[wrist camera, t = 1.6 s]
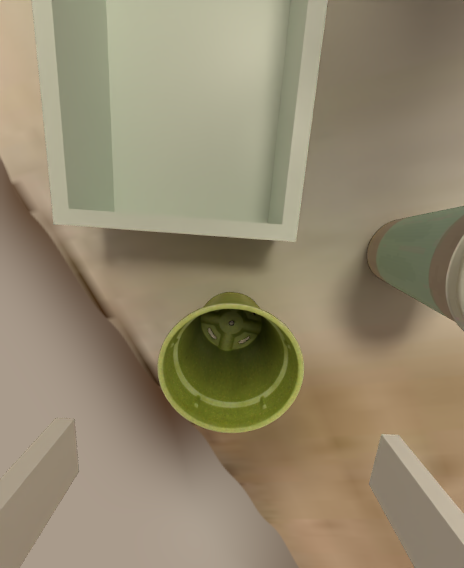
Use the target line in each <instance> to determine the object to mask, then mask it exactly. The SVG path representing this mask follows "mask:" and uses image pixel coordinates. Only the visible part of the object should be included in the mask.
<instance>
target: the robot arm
mask: <svg viewBox="0 0 464 568" xmlns="http://www.w3.org/2000/svg"><path fill="white" fill-rule="evenodd" d="M78 472H79V466H78V454H77V443H76V431H75V419H68V418H55V420H54V421H53V422H52V423H51V424H50V425H49V426H48V427H47V428H46V429H45V430H44V431H43V433H42V434H41V435H40V436H39V437H38V438H37V439H36V440H35V441H34V443H33V444H32V445H31V446H30V447H29V448H28V449H27V450H26V451H25V452H24V453H23V455H22V456H21V457H20V458H19V459H18V460H17V461H16V462H15V463H14V464H13V465H12V466H11V468H10V469H9V470H8V471H7V472H6V473H5V474H4V475H3V476H2V478H1V479H0V568H20V566H21V565H22V563H23V562H24V560H25V558H26V557H27V555H28V553H29V552H30V550H31V548H32V547H33V545H34V544H35V542H36V540H37V539H38V537H39V536H40V534H41V532H42V531H43V529H44V527H45V526H46V524H47V523H48V521H49V519H50V518H51V516H52V514H53V513H54V511H55V510H56V508H57V506H58V504H59V503H60V502H61V500H62V498H63V497H64V495H65V493H66V492H67V490H68V489H69V487H70V485H71V484H72V482H73V480H74V479H75V477H76V476H77V474H78ZM369 485H370V487H371V489H372V491H373V493H374V494H375V496H376V498H377V500H378V502H379V504H380V505H381V507H382V509H383V511H384V513H385V514H386V516H387V518H388V520H389V522H390V524H391V525H392V527H393V529H394V531H395V533H396V535H397V536H398V538H399V540H400V542H401V544H402V545H403V547H404V549H405V551H406V553H407V555H408V556H409V558H410V560H411V562H412V564H413V566H414V567H415V568H464V514H463V513H462V511H461V510H460V509H459V508H458V507H457V505H456V504H455V503H454V502H453V500H452V499H451V498H450V497H449V496H448V494H447V493H446V492H445V491H444V490H443V488H442V487H441V486H440V485H439V483H438V482H437V481H436V480H435V479H434V477H433V476H432V475H431V474H430V473H429V471H428V470H427V469H426V468H425V466H424V465H423V464H422V463H421V462H420V460H419V459H418V458H417V457H416V456H415V454H414V453H413V452H412V451H411V449H410V448H409V447H408V446H407V445H406V443H405V442H404V441H403V440H402V439H401V437H400V436H399V435H389V434H381V438H380V442H379V446H378V450H377V454H376V458H375V462H374V466H373V470H372V474H371V478H370V482H369Z"/></svg>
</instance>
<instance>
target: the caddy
mask: <svg viewBox="0 0 464 568" xmlns="http://www.w3.org/2000/svg"><path fill="white" fill-rule="evenodd" d="M327 4H328V0H32V9H33V20H34V30H35V40H36V50H37V61H38V71H39V81H40V91H41V101H42V112H43V122H44V132H45V142H46V153H47V163H48V173H49V183H50V193H51V204H52V214H53V224H56V225H70V226H83V227H97V228H111V229H125V230H138V231H152V232H166V233H179V234H193V235H207V236H221V237H234V238H248V239H262V240H276V241H289V242H296V238H297V231H298V223H299V215H300V208H301V200H302V193H303V185H304V178H305V170H306V162H307V155H308V147H309V140H310V132H311V125H312V117H313V110H314V102H315V94H316V87H317V79H318V72H319V64H320V57H321V49H322V41H323V34H324V26H325V19H326V11H327Z"/></svg>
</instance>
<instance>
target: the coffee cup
mask: <svg viewBox="0 0 464 568" xmlns="http://www.w3.org/2000/svg"><path fill="white" fill-rule="evenodd" d="M367 260H368V264H369V267H370V269H371V271H372V272H373V273H374V274H375V275H376V276H377V277H378V278H380V279H382V280H383V281H385V282H387V283H388V284H390V285H392V286H394V287H395V288H397V289H399V290H401V291H402V292H404V293H406V294H408V295H409V296H411V297H413V298H414V299H416V300H418V301H420V302H421V303H423V304H425V305H427V306H428V307H430V308H432V309H434V310H435V311H437V312H439V313H441V314H442V315H444V316H446V317H448V318H449V319H451V320H453V321H455V322H456V323H457V324H458V326H459V327H460V328H461V329H462V330H463V331H464V206H462V207H457V208H452V209H447V210H442V211H437V212H432V213H427V214H422V215H417V216H412V217H408V218H403V219H398V220H394V221H391V222H389V223H387V224H385V225H384V226H382V227H381V228H380V229H379V230H378V231H377V232H376V233H375V234H374V236H373V237H372V239H371V241H370V243H369V247H368V251H367Z"/></svg>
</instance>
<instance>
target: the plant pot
mask: <svg viewBox="0 0 464 568" xmlns="http://www.w3.org/2000/svg"><path fill="white" fill-rule="evenodd" d="M252 312H253V313H256V315H253V314H252ZM230 321H234V324H233V325H229V322H230ZM208 328H210V329H211V330H212V332H213V334H214V335H215V336H216V337H217V338H216V339H214V338H212V337H211V336H210V334H209V332H208ZM248 336H250V339H249V340H247V341H246V342H244V343H242V344H241V343H238V342H239V341H241V340H243V339H245V338H247V337H248ZM303 375H304V362H303V356H302V352H301V350H300V347H299V344H298V342H297V340H296V339H295V337H294V336H293V334H292V333H291V331H290V330H289V329H288V328H287V327H286V326H285V325H284V324H283V323H282V322H281V321H280V320H279V319H277V318H276V317H275V316H273V315H272V314H270V313H268V312H266V311H264V310H262V309H260V308H259V307H258V305H257V304H256V303H255V302H254V301H253V300H252V299H251V298H249V297H248V296H246V295H243V294H240V293H234V292H226V293H222V294H219V295H217V296H215V297H213V298H212V299H211V300H209V301H208V302H207V303H206V305H205V306H204V307H203V308H201V309H198V310H196V311H194V312H192V313H191V314H189V315H187V316H186V317H185V318H183V319H182V320H181V321H180V322H178V323H177V324H176V325H175V326H174V328H173V329H172V330H171V331H170V333H169V334H168V335H167V337H166V338H165V340H164V342H163V345H162V347H161V350H160V353H159V358H158V378H159V382H160V386H161V388H162V391H163V393H164V395H165V396H166V398H167V400H168V401H169V402H170V404H171V405H172V406H173V408H174V409H175V410H176V411H177V412H178V413H179V414H180V415H182V416H183V417H184V418H185V419H187V420H189V421H190V422H192V423H194V424H196V425H198V426H200V427H203V428H205V429H208V430H213V431H216V432H221V433H223V432H224V433H240V432H247V431H251V430H255V429H259V428H262V427H264V426H266V425H268V424H270V423H271V422H273V421H275V420H276V419H278V418H279V417H280V416H281V415H283V414H284V412H286V410H287V409H288V408H289V407H290V406H291V405H292V403H293V402H294V400H295V399H296V397H297V395H298V393H299V391H300V388H301V385H302V381H303Z"/></svg>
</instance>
